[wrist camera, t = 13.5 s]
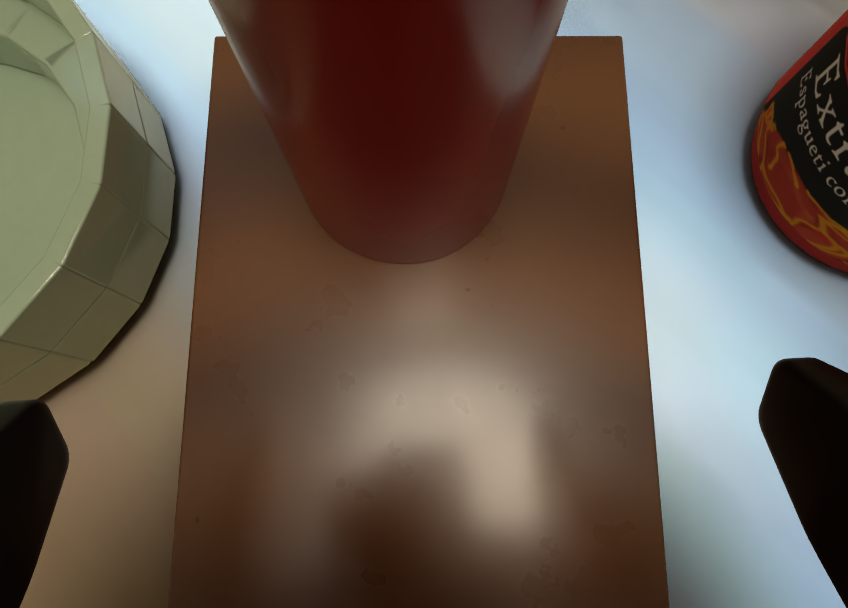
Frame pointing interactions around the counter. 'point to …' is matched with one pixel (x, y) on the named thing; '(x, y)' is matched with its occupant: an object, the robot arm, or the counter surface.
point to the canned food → (808, 150)
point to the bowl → (72, 194)
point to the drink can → (396, 109)
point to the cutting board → (423, 382)
